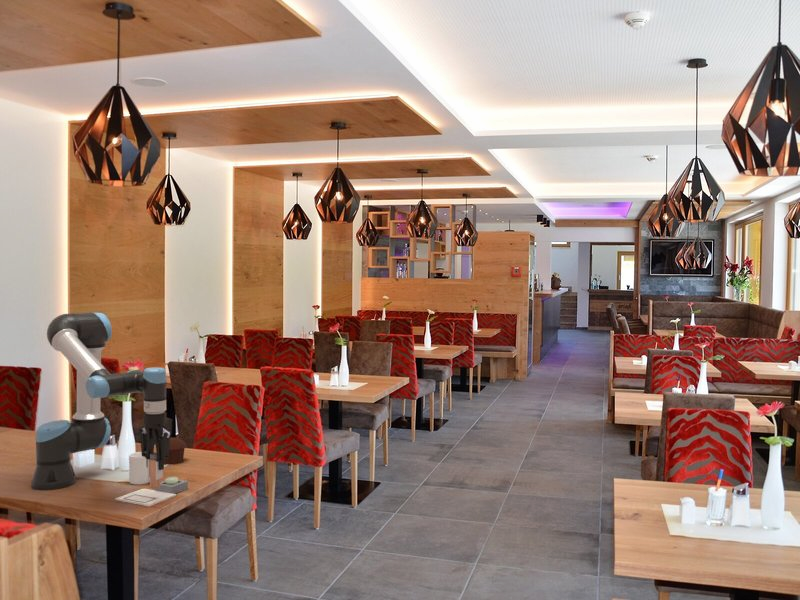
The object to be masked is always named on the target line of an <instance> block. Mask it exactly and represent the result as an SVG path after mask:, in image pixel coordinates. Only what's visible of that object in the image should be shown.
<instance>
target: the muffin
mask: <svg viewBox="0 0 800 600" xmlns="http://www.w3.org/2000/svg"><path fill="white" fill-rule="evenodd" d="M186 447H187V444H186V443H185V441H184V440H182V439H181V438H179V437H170V446H169V458H168V459H165V460H164V465H166V464H168V465H171V464H173V465H177V464H181V463H183V462H184V456H185V455H184V454H185V448H186Z"/></svg>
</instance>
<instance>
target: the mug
mask: <svg viewBox="0 0 800 600" xmlns="http://www.w3.org/2000/svg"><path fill="white" fill-rule="evenodd" d="M128 463H129V464H128V465H129V466H128V467H129V468H128V469H129V471H128V474H129V483H130V484H131V485H137V486H139V485H140V486H141V485H147V484H150V478H148V468H147V466H146V465H147V464H146V458H145V457H143V456H142V452H141V451H136V452H131V453H130V454H129V455H128Z"/></svg>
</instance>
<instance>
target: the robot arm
mask: <svg viewBox="0 0 800 600" xmlns="http://www.w3.org/2000/svg"><path fill="white" fill-rule="evenodd" d="M112 329H113V328H112V323H111V321H110V320H109V318H108V317H107V315H105V313H101V312H91V311H90V312H78V313H77V312H76V313H75V312H74V313H62V314H60V315H58V316H56V317H55V318H53V319H52V320H51V321H50V323H49V325H48V327H47V329H46V337H47V338H46V339H47V341H48V343H49V344H50V346H51V347H52V348H53V349H54V350H55V351H56V352H60V353H61V354H62V355H63V357H65V358H66V360H67V361H68V362H69V363H70V365H72V366H73V368H74V369H75V370H76V412H74V414H73V415H72V418H71V419H72V422H71V421H70V420H66V419H59V420H51V421H48V422H46V423H42V424H41V425H39V426H38V427H37V428H36V431H35V453H36V454H35V455H36V456H35V457H36V464H35V465H36V466H35V470H34V473H33V476H32V478H31V479H32V480H31V488H32V489H34V490H39V491H40V490H41V491H49V490H51V491H52V490H58V489H59V490H60V489H63V488H67V487H70V486H72V485H74V484H76V482H77V475H76V473H75V471H74V467H73V465H72V462H71V454H77V453H79V452H84V451H90V450H96V449H98V448H99V449H100V448H102V447H104V446H106V445H107V443H109V440H110V437H111V434H112V433H111V432H112V428H111V425H110V423H111V422H110V421H109V419H108V418H107V417H105V414H104V412H102V411H101V399H103V398H107V397H114V396H120V395H121V396H122V395H127V394H128V395H129V394H135V393H140V394H143V412H144V413H143V424H145V425H144V427H141V428H139V429H138V432H139V435H140V448H141V451H140V452H142V456H143V457H145V458H146V464H147V465H146V466H147V468H148V478H150V453H153V452H157V460H156V480H158V479H163V478H164V470H165V469H164V468H165V464H164V460H165V459H168V458H169V446H170V438H172V431H168V430H167V429H166V422H167V412H166V411H167V381H168V379H167V371H166V369H165V368H164V367H147V368H145V369H144V370H143V371H142V370H138V369H130V370H128V371H125V372H119V373H118V372H117V373H110V371H108V369H107V368H106V367H105V366H104V365H103V364H102V351H103V350H104V349H105V348H106V343H107V342H109V341H110V339H111V337H112V336H113V330H112Z"/></svg>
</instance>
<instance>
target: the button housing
mask: <svg viewBox="0 0 800 600" xmlns="http://www.w3.org/2000/svg"><path fill="white" fill-rule="evenodd" d="M188 489H189V481H188V480H183V479H178V483H177V484H174V485H167V484H166V481H165V480H163V481H160V487H159V488H155V491H161V492H167V493H172V494H176V495H177V494H179V493H181V492H184V491H186V490H188Z"/></svg>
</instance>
